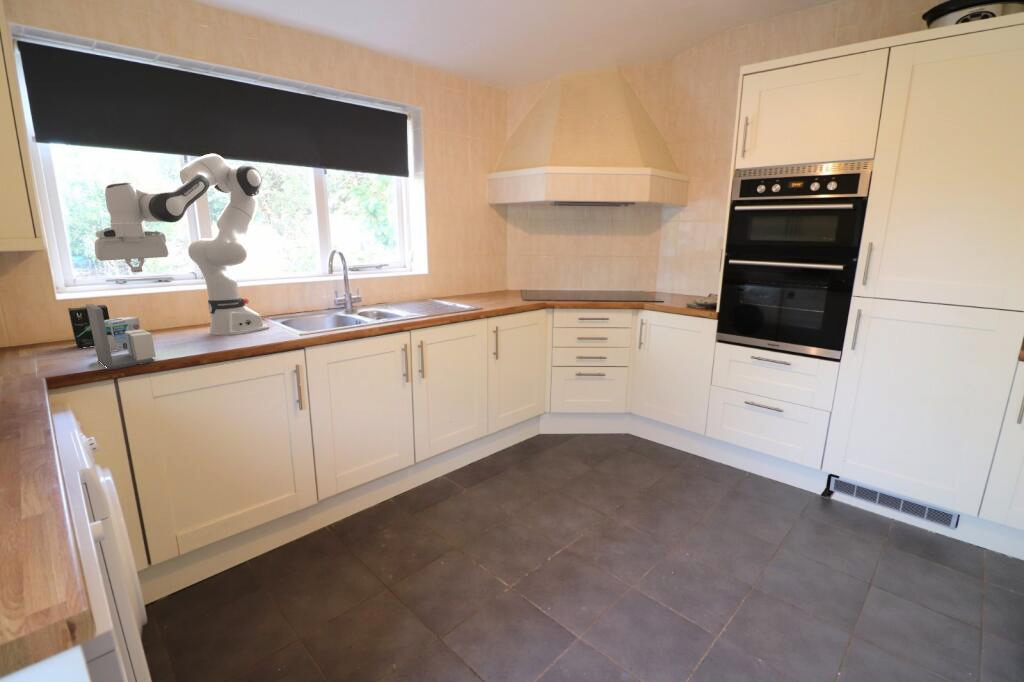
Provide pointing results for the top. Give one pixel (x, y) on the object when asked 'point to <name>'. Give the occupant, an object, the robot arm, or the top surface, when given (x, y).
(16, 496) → the top surface
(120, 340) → the light bulb box
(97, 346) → the display platform
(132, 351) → the cream carton
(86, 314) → the tampon box
